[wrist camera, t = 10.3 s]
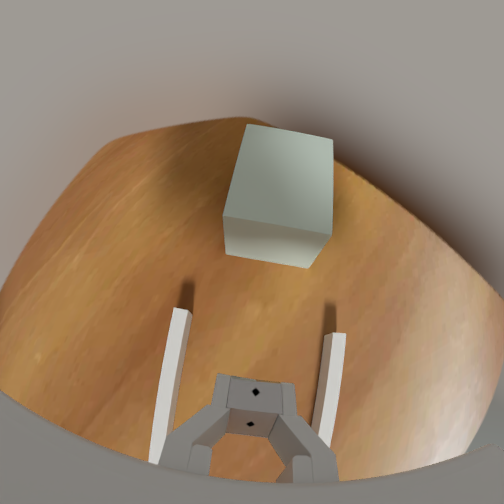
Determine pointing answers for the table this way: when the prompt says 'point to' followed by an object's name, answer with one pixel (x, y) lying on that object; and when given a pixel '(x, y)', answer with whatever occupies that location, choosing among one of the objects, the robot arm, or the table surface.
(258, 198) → the sage block
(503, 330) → the table surface
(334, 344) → the channel
